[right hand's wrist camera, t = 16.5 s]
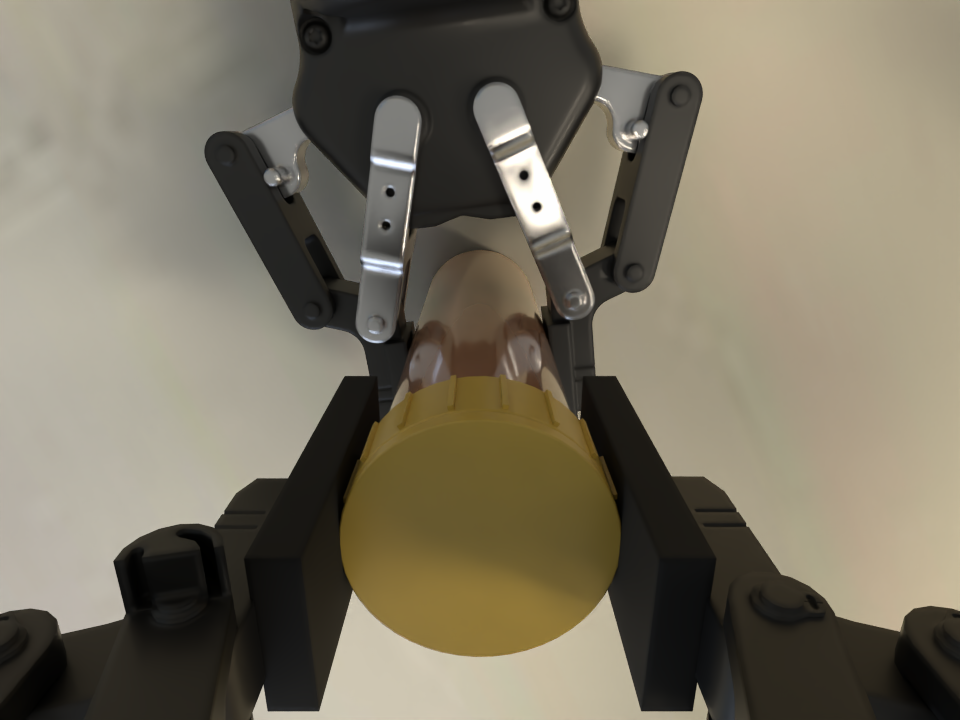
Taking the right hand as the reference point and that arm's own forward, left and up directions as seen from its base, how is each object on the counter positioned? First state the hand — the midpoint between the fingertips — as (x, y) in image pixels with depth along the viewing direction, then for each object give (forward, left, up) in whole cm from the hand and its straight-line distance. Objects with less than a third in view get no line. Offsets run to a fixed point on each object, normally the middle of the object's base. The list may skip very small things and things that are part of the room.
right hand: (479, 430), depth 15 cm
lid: (0, 0, +4) cm, 4 cm away
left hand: (-1, +2, -6) cm, 6 cm away
